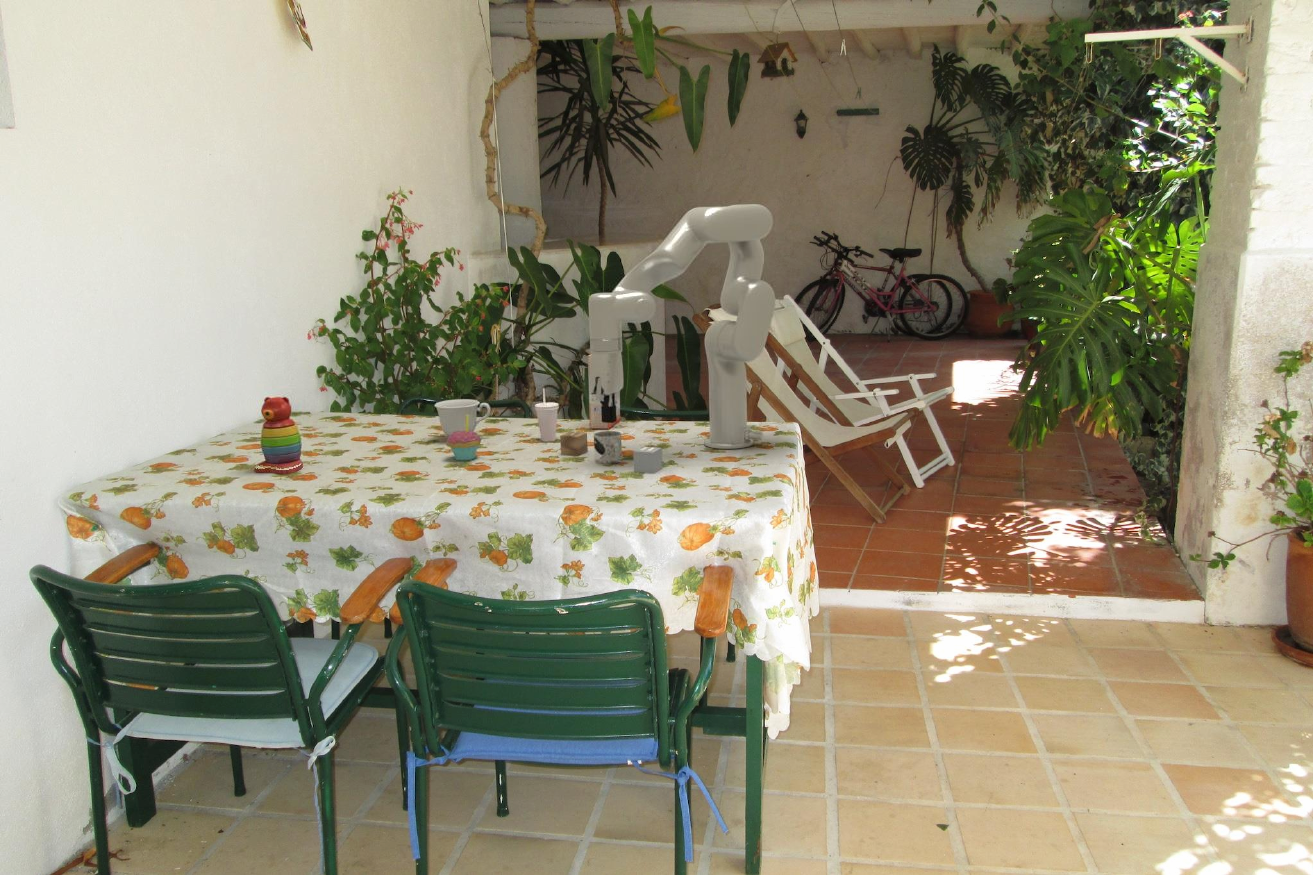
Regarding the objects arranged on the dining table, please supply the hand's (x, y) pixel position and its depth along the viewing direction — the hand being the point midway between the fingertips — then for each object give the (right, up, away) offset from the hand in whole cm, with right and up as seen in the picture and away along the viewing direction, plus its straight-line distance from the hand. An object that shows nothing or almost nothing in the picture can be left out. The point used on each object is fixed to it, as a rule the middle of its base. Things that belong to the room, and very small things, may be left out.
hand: (609, 421), depth 252 cm
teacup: (-41, -4, +33) cm, 53 cm away
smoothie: (-17, -5, +29) cm, 34 cm away
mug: (0, -10, +2) cm, 10 cm away
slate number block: (+9, -11, -7) cm, 16 cm away
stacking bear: (-80, -12, +5) cm, 81 cm away
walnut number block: (-9, -8, +12) cm, 17 cm away
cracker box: (-3, 0, +47) cm, 47 cm away
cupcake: (-36, -9, +10) cm, 39 cm away
